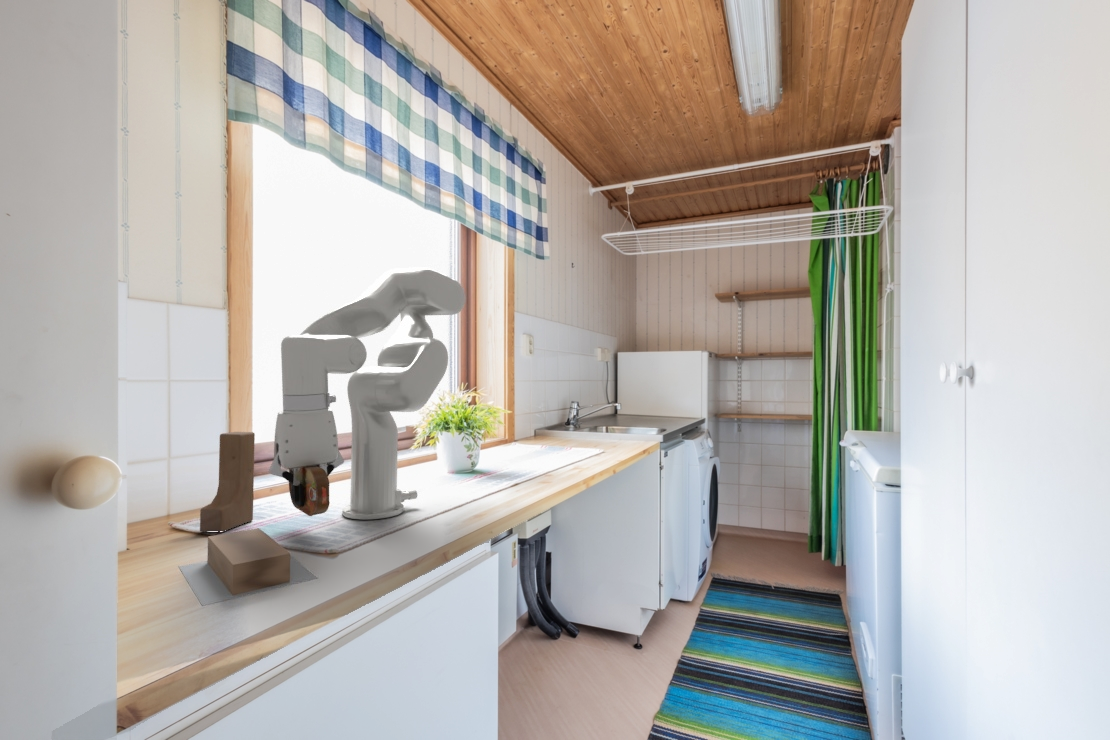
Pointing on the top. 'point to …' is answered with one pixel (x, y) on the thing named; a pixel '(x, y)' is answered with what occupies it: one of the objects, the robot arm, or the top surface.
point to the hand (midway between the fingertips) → (308, 502)
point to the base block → (248, 560)
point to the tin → (314, 490)
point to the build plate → (215, 591)
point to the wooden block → (232, 484)
